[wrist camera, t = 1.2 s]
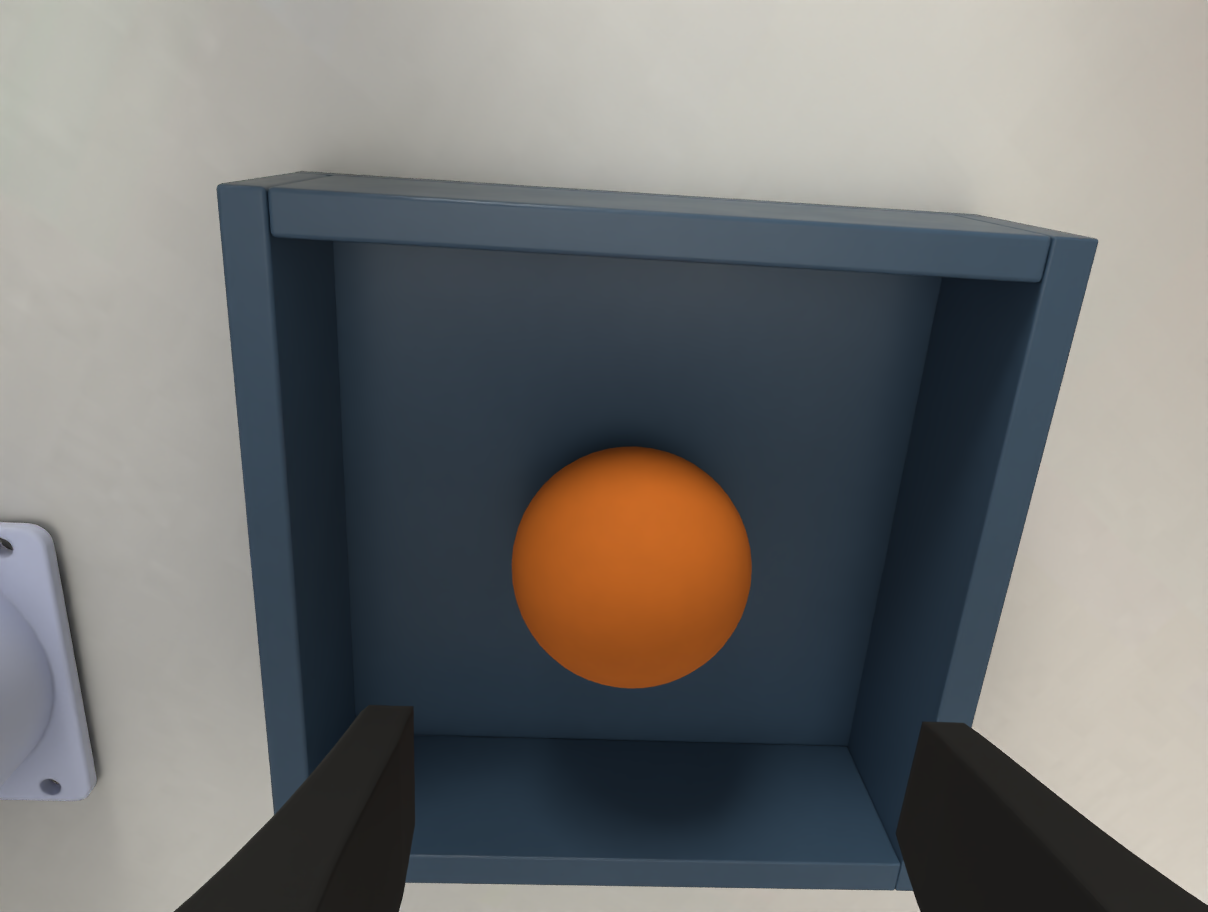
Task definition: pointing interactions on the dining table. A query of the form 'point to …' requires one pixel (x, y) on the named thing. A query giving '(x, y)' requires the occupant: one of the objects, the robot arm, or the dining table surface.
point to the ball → (631, 567)
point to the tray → (653, 420)
